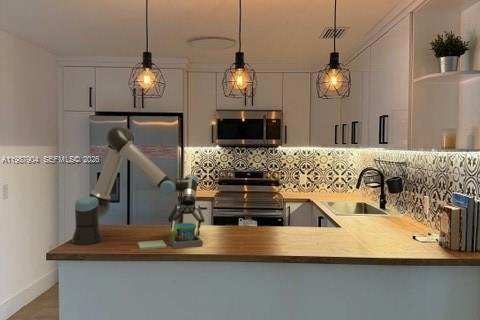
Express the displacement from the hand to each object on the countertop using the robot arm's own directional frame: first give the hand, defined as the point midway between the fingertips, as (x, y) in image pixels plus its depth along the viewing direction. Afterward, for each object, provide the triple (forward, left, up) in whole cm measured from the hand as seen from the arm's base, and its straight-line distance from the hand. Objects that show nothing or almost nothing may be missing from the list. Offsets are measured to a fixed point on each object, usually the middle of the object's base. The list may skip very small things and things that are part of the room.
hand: (184, 232), depth 211 cm
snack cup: (+1, +2, -7) cm, 7 cm away
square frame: (+1, +2, -7) cm, 7 cm away
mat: (-16, +5, -7) cm, 18 cm away
